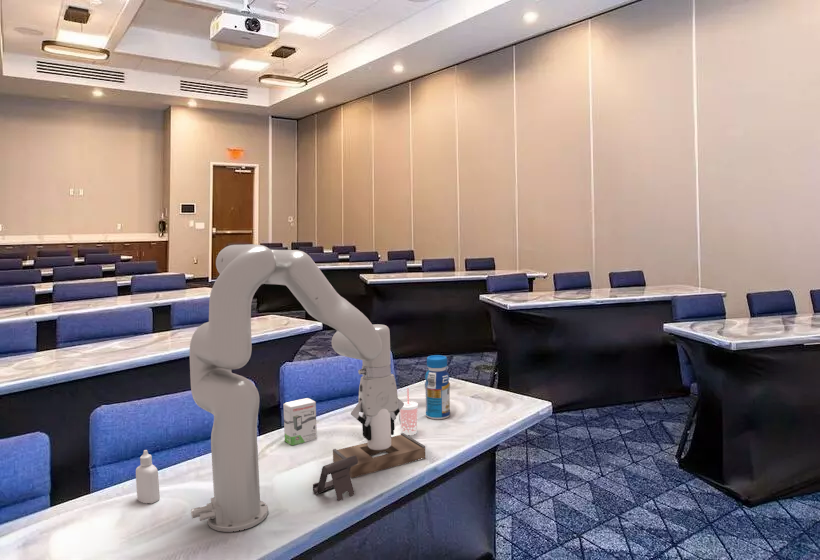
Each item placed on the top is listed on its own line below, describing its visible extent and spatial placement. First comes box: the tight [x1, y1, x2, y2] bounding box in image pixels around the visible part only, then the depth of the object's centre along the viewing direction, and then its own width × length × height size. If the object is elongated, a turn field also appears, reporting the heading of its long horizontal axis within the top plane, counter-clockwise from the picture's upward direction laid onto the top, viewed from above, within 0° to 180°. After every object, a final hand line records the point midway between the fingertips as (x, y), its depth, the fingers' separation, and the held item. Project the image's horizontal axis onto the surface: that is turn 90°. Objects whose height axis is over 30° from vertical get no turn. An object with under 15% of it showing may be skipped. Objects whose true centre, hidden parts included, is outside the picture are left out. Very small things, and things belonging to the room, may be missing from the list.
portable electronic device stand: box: [312, 455, 358, 502], centre depth 130 cm, size 9×8×8 cm
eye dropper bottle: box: [135, 449, 161, 504], centre depth 128 cm, size 4×6×12 cm
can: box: [366, 406, 392, 451], centre depth 148 cm, size 6×6×12 cm
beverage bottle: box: [424, 354, 451, 420], centre depth 183 cm, size 8×8×20 cm
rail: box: [332, 433, 426, 479], centre depth 149 cm, size 22×12×3 cm, turn 120°
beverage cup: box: [399, 387, 419, 436], centre depth 168 cm, size 6×6×14 cm
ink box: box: [283, 397, 318, 446], centre depth 164 cm, size 9×5×12 cm, turn 127°
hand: (378, 435), depth 148 cm, fingers closed on can, 6 cm apart
